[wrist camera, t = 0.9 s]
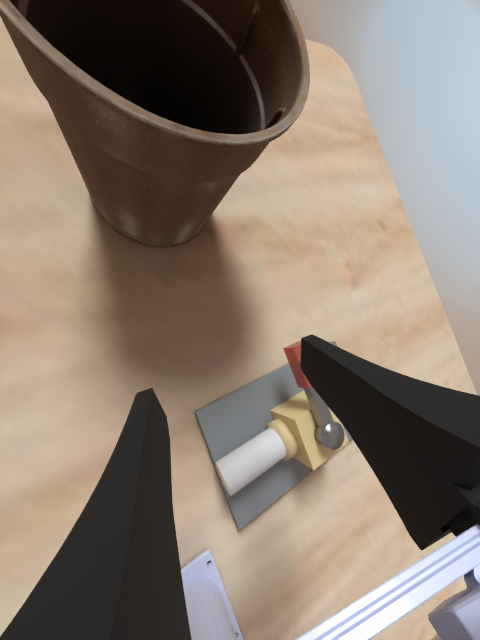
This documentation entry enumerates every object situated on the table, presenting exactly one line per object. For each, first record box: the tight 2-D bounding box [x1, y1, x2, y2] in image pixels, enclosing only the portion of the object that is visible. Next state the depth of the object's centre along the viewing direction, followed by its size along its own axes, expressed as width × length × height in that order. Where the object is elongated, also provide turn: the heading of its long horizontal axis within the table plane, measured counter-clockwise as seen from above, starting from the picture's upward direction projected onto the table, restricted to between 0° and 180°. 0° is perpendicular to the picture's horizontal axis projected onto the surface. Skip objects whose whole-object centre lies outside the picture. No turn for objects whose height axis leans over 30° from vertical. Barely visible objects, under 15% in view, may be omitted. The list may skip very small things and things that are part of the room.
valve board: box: [194, 341, 352, 530], centre depth 25 cm, size 12×20×6 cm, turn 112°
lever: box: [283, 341, 345, 450], centre depth 22 cm, size 10×2×2 cm, turn 22°
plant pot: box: [0, 0, 310, 247], centre depth 18 cm, size 16×16×16 cm
